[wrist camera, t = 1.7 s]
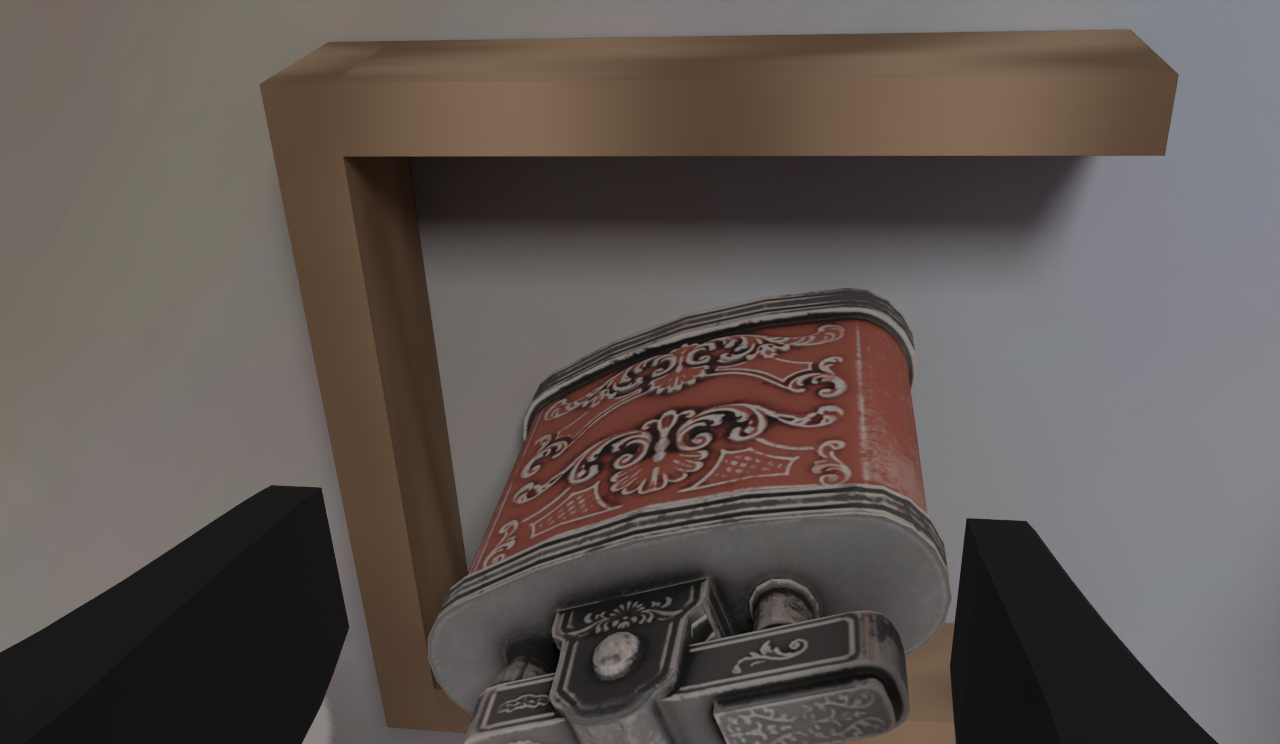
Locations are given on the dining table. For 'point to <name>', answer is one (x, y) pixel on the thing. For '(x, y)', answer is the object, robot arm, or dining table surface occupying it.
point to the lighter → (708, 539)
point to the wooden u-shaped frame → (611, 126)
